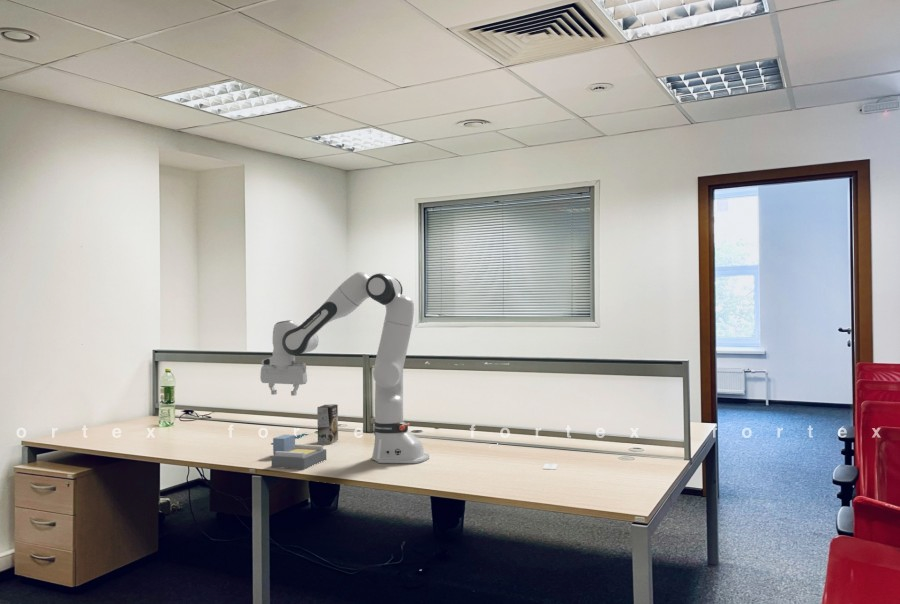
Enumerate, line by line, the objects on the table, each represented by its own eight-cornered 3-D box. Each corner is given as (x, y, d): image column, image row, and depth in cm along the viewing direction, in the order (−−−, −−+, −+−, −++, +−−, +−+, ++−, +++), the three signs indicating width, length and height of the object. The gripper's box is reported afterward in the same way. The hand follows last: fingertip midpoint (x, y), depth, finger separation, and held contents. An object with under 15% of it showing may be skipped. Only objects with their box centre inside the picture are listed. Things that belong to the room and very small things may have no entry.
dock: (326, 459, 259) (326, 445, 259) (304, 469, 244) (303, 454, 244) (295, 457, 264) (295, 443, 264) (271, 467, 249) (271, 452, 249)
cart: (295, 453, 272) (294, 435, 272) (284, 457, 265) (283, 438, 265) (284, 452, 274) (284, 434, 274) (273, 457, 266) (273, 438, 266)
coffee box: (331, 444, 289) (330, 407, 289) (317, 444, 290) (316, 407, 291) (338, 440, 298) (338, 404, 298) (325, 439, 299) (324, 404, 299)
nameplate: (268, 444, 293) (278, 445, 291) (268, 443, 293) (277, 443, 291) (317, 430, 326) (326, 430, 324) (317, 428, 326) (326, 429, 324)
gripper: (310, 360, 269) (310, 395, 269) (267, 359, 276) (267, 392, 276) (301, 361, 263) (301, 397, 263) (258, 360, 270) (258, 394, 270)
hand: (283, 394), depth 270 cm, fingers open, 8 cm apart
